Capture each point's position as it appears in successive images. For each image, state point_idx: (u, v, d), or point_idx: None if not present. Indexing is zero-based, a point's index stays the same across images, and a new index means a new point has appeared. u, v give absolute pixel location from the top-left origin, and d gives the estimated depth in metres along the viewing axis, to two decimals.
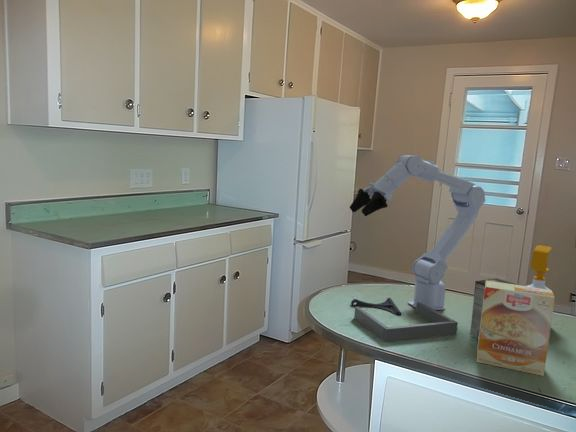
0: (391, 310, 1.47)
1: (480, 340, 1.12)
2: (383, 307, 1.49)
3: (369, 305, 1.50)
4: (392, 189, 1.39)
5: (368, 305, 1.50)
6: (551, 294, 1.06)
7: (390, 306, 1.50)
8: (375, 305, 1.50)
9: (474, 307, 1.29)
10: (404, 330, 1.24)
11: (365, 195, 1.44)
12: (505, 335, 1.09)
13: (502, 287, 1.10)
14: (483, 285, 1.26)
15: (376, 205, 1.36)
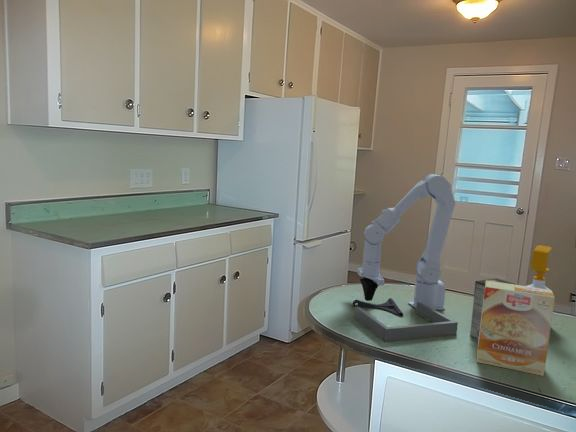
0: (393, 311, 1.46)
1: (480, 340, 1.12)
2: (384, 308, 1.48)
3: (371, 306, 1.49)
4: (378, 266, 1.51)
5: (370, 306, 1.49)
6: (551, 294, 1.06)
7: (392, 306, 1.49)
8: (377, 306, 1.49)
9: (474, 307, 1.29)
10: (404, 330, 1.24)
11: None
12: (505, 335, 1.09)
13: (502, 287, 1.10)
14: (483, 285, 1.26)
15: (372, 287, 1.53)
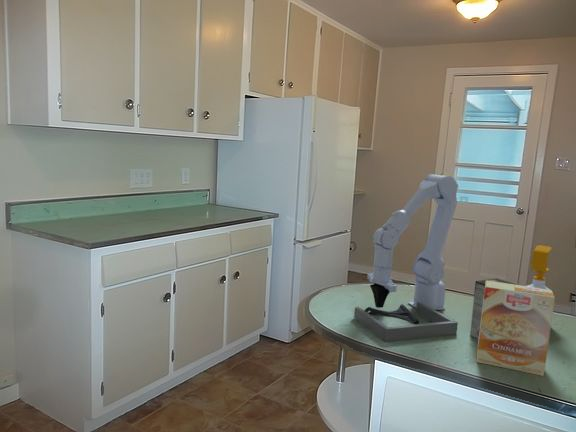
0: (407, 318, 1.40)
1: (480, 340, 1.12)
2: (398, 315, 1.42)
3: (384, 313, 1.43)
4: (389, 271, 1.44)
5: (383, 313, 1.43)
6: (551, 294, 1.06)
7: (405, 314, 1.43)
8: (390, 313, 1.43)
9: (474, 307, 1.29)
10: (404, 330, 1.24)
11: None
12: (505, 335, 1.09)
13: (502, 287, 1.10)
14: (483, 285, 1.26)
15: (383, 293, 1.47)
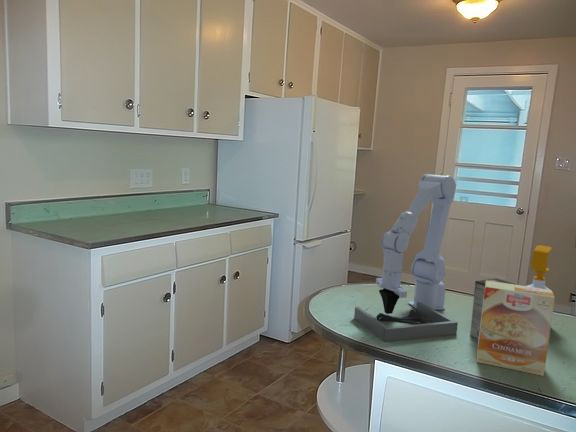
0: None
1: (480, 340, 1.12)
2: (411, 321, 1.38)
3: (396, 319, 1.38)
4: (399, 276, 1.39)
5: (395, 319, 1.38)
6: (551, 294, 1.06)
7: (418, 319, 1.39)
8: (402, 319, 1.38)
9: (474, 307, 1.29)
10: (404, 330, 1.24)
11: None
12: (505, 335, 1.09)
13: (502, 287, 1.10)
14: (483, 285, 1.26)
15: (392, 299, 1.41)
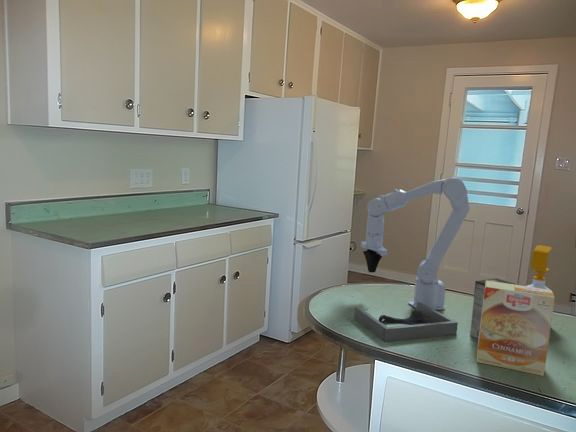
0: None
1: (480, 340, 1.12)
2: (413, 322, 1.37)
3: (399, 321, 1.37)
4: (381, 238, 1.54)
5: (397, 321, 1.37)
6: (551, 294, 1.06)
7: (420, 321, 1.38)
8: (405, 320, 1.37)
9: (474, 307, 1.29)
10: (404, 330, 1.24)
11: None
12: (505, 335, 1.09)
13: (502, 287, 1.10)
14: (483, 285, 1.26)
15: (375, 259, 1.57)
